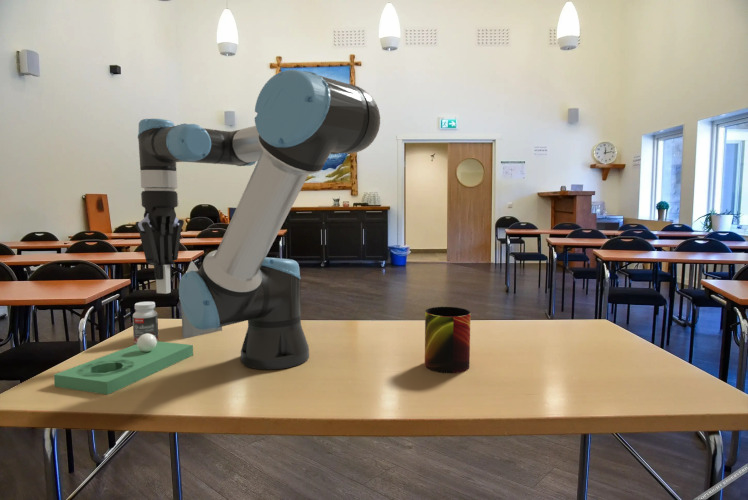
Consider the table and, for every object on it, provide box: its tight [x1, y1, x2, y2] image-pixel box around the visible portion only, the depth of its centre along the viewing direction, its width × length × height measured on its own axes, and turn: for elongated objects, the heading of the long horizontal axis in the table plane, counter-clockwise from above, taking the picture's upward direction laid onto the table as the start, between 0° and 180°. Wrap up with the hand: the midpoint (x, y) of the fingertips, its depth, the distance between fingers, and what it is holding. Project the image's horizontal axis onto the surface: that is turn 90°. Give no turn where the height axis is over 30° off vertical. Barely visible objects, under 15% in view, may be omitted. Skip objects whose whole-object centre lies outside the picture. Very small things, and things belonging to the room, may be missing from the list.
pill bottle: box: [132, 301, 159, 344], centre depth 122 cm, size 6×6×10 cm
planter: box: [180, 260, 223, 339], centre depth 132 cm, size 16×8×19 cm, turn 1°
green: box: [53, 340, 194, 395], centre depth 102 cm, size 24×13×2 cm, turn 162°
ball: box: [137, 333, 158, 352], centre depth 107 cm, size 4×4×4 cm
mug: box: [424, 306, 471, 375], centre depth 106 cm, size 10×14×12 cm
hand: (163, 292), depth 111 cm, fingers closed
